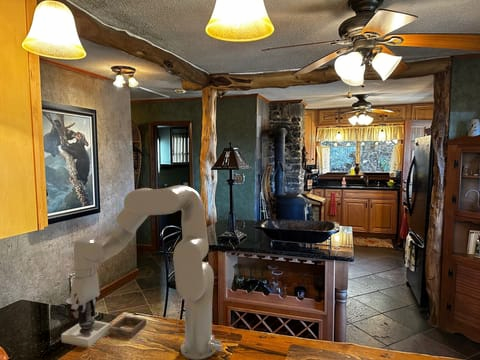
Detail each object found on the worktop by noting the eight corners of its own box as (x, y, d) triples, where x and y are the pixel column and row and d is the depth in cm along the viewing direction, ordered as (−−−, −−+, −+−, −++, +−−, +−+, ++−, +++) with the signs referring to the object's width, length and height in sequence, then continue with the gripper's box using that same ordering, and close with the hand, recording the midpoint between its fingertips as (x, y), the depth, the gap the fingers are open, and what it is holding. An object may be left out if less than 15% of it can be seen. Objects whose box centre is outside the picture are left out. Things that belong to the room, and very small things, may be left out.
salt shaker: (98, 326, 126) (98, 297, 125) (88, 335, 120) (88, 303, 119) (85, 325, 127) (84, 295, 126) (74, 333, 121) (74, 302, 121)
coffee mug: (94, 318, 138) (93, 295, 137) (82, 328, 129) (81, 304, 128) (68, 316, 139) (67, 293, 138) (55, 327, 130) (54, 302, 130)
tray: (110, 330, 128) (110, 323, 128) (88, 347, 117) (88, 339, 116) (85, 325, 131) (85, 318, 131) (61, 342, 120) (61, 334, 120)
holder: (146, 325, 133) (146, 319, 133) (131, 338, 123) (131, 331, 123) (125, 321, 135) (125, 315, 135) (109, 333, 126) (109, 327, 126)
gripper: (93, 263, 131) (94, 307, 132) (59, 278, 115) (61, 327, 117) (108, 265, 129) (109, 309, 130) (77, 280, 113) (78, 331, 114)
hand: (86, 317), depth 123 cm, fingers closed on salt shaker, 3 cm apart
